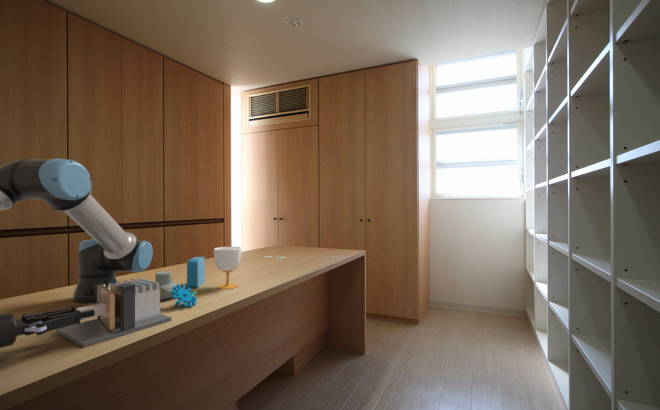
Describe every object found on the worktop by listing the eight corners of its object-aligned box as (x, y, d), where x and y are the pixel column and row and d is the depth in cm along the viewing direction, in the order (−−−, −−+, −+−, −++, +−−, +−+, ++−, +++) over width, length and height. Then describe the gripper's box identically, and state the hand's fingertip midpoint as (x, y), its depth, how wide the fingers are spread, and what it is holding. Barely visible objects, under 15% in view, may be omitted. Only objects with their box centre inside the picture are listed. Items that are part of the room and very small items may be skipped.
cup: (246, 285, 154) (246, 247, 154) (229, 291, 143) (229, 250, 143) (226, 282, 158) (226, 246, 158) (207, 288, 148) (207, 249, 148)
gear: (182, 306, 116) (168, 283, 119) (171, 318, 117) (158, 294, 120) (204, 302, 126) (191, 281, 130) (194, 313, 127) (182, 291, 130)
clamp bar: (96, 317, 105) (96, 285, 105) (104, 315, 107) (104, 283, 107) (107, 330, 94) (107, 294, 94) (116, 328, 96) (116, 293, 96)
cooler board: (55, 332, 97) (55, 285, 97) (141, 310, 117) (141, 271, 117) (83, 347, 87) (83, 294, 87) (171, 320, 107) (171, 277, 107)
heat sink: (106, 319, 105) (107, 283, 105) (139, 310, 114) (139, 277, 114) (126, 326, 99) (126, 289, 99) (159, 317, 107) (160, 282, 107)
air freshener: (143, 301, 128) (144, 274, 128) (156, 295, 137) (156, 270, 137) (172, 301, 128) (172, 275, 128) (182, 295, 136) (182, 270, 136)
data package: (194, 282, 159) (194, 256, 159) (204, 282, 160) (204, 256, 159) (186, 288, 147) (186, 261, 147) (197, 288, 148) (197, 260, 148)
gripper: (-18, 342, 82) (93, 317, 101) (-2, 357, 74) (115, 326, 94) (-17, 311, 82) (94, 291, 102) (-2, 323, 74) (116, 299, 94)
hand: (104, 308), depth 97 cm, fingers closed
